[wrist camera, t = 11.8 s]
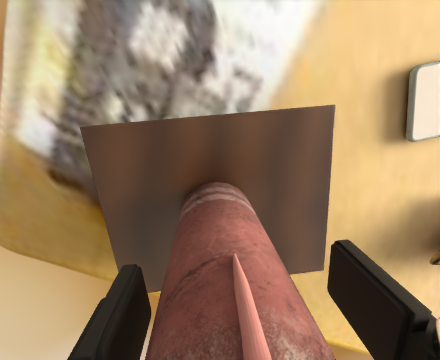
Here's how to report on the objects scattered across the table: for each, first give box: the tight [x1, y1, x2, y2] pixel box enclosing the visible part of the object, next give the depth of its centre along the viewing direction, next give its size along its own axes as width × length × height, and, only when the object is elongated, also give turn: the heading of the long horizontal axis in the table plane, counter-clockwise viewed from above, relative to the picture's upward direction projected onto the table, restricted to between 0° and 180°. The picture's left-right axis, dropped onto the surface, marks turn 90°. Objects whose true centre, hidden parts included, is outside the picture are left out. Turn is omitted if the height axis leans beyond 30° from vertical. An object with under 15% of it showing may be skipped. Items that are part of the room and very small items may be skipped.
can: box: [145, 182, 336, 360], centre depth 12 cm, size 6×6×14 cm
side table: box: [80, 105, 336, 293], centre depth 22 cm, size 20×16×7 cm
